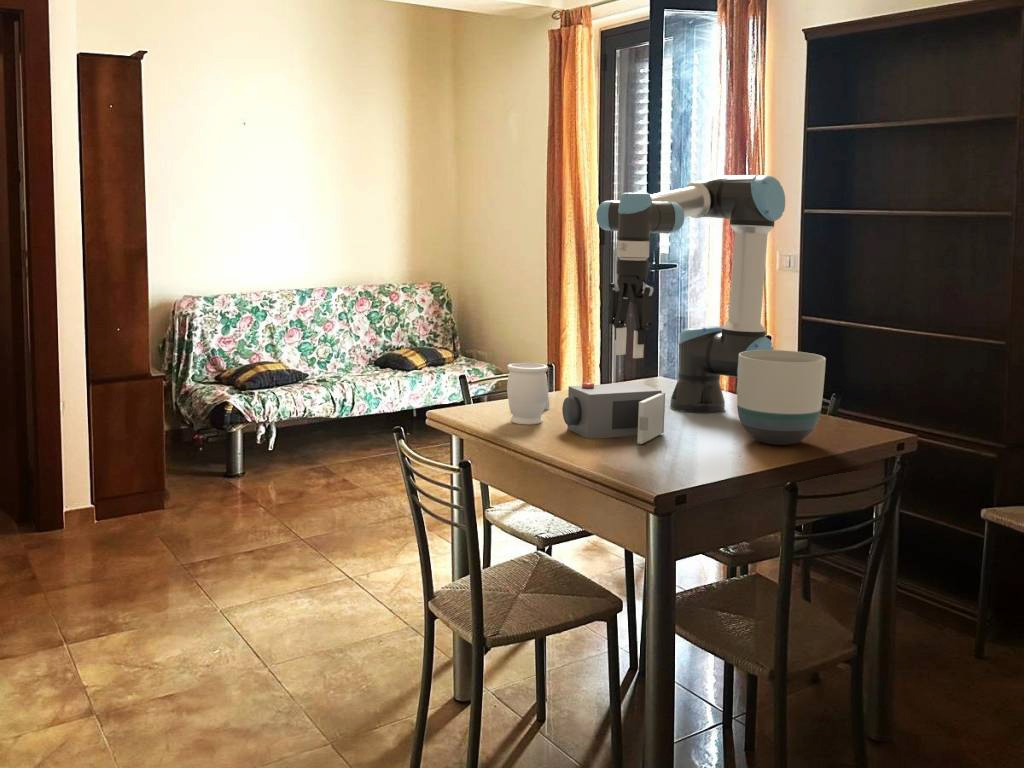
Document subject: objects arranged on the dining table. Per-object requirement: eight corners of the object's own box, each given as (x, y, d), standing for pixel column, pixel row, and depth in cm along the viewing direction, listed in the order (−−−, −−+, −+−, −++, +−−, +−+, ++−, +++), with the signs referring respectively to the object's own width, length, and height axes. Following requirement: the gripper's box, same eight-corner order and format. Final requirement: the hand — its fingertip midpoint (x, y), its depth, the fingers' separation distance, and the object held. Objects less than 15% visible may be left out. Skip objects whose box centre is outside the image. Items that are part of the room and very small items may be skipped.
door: (659, 431, 269) (660, 392, 268) (668, 432, 268) (670, 393, 267) (635, 443, 256) (637, 402, 254) (645, 444, 255) (647, 403, 253)
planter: (717, 436, 268) (722, 351, 264) (786, 431, 275) (791, 348, 271) (765, 455, 249) (771, 363, 245) (837, 449, 257) (844, 360, 253)
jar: (498, 421, 281) (499, 364, 278) (524, 416, 288) (526, 360, 285) (528, 428, 273) (529, 369, 271) (554, 422, 281) (556, 365, 278)
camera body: (636, 424, 281) (638, 378, 279) (660, 433, 269) (662, 386, 267) (560, 429, 272) (561, 382, 270) (580, 439, 261) (582, 391, 259)
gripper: (595, 257, 259) (591, 352, 263) (649, 261, 244) (645, 362, 248) (617, 256, 263) (614, 350, 267) (672, 260, 249) (667, 359, 253)
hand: (629, 355), depth 258 cm, fingers open, 5 cm apart
